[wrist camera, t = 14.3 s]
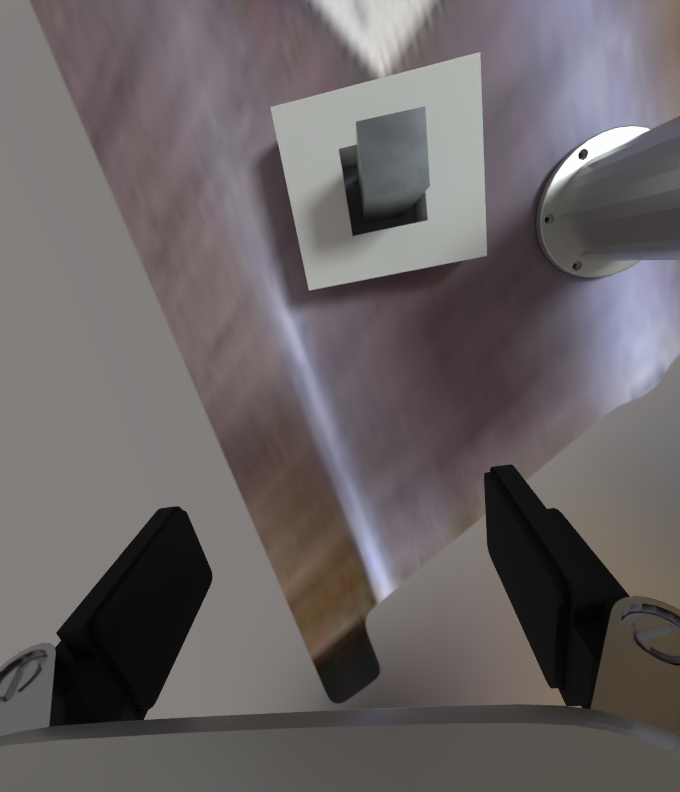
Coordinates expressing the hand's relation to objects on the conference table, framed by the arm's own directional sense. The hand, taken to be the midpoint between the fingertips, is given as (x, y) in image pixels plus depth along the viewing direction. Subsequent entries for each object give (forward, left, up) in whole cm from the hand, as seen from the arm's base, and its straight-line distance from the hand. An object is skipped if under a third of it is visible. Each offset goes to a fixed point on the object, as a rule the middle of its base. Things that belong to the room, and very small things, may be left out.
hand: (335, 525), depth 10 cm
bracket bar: (-5, -13, -30) cm, 33 cm away
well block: (-5, -13, -30) cm, 33 cm away
